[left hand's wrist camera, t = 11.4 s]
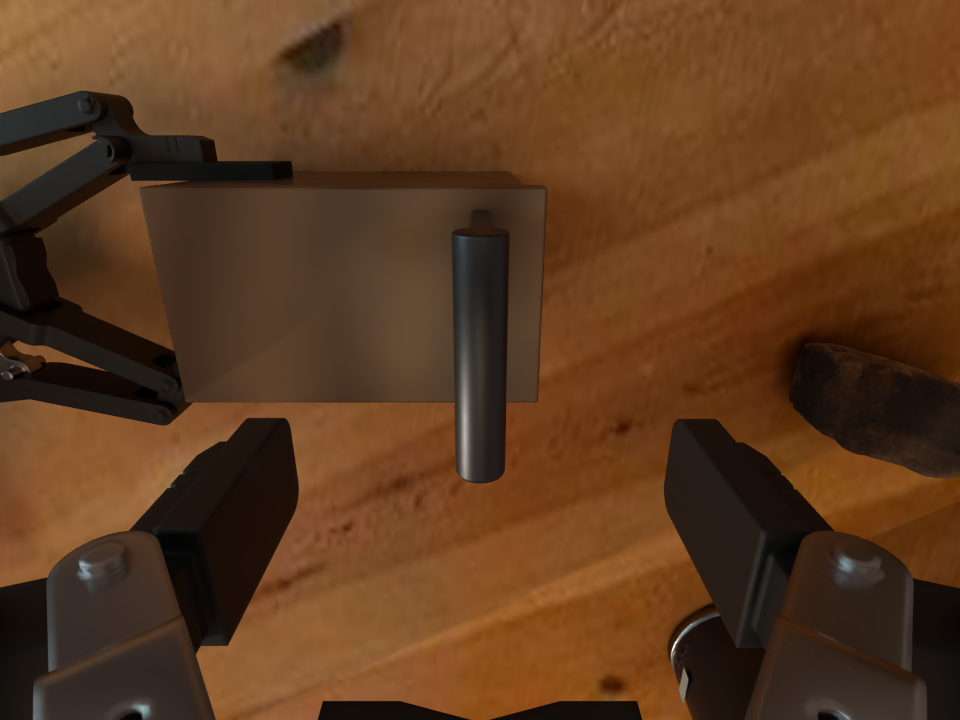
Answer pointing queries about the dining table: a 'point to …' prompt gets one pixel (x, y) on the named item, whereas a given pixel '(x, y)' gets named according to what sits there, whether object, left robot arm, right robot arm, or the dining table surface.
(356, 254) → the lid
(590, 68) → the dining table surface
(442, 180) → the chest
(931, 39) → the dining table surface
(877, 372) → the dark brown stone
